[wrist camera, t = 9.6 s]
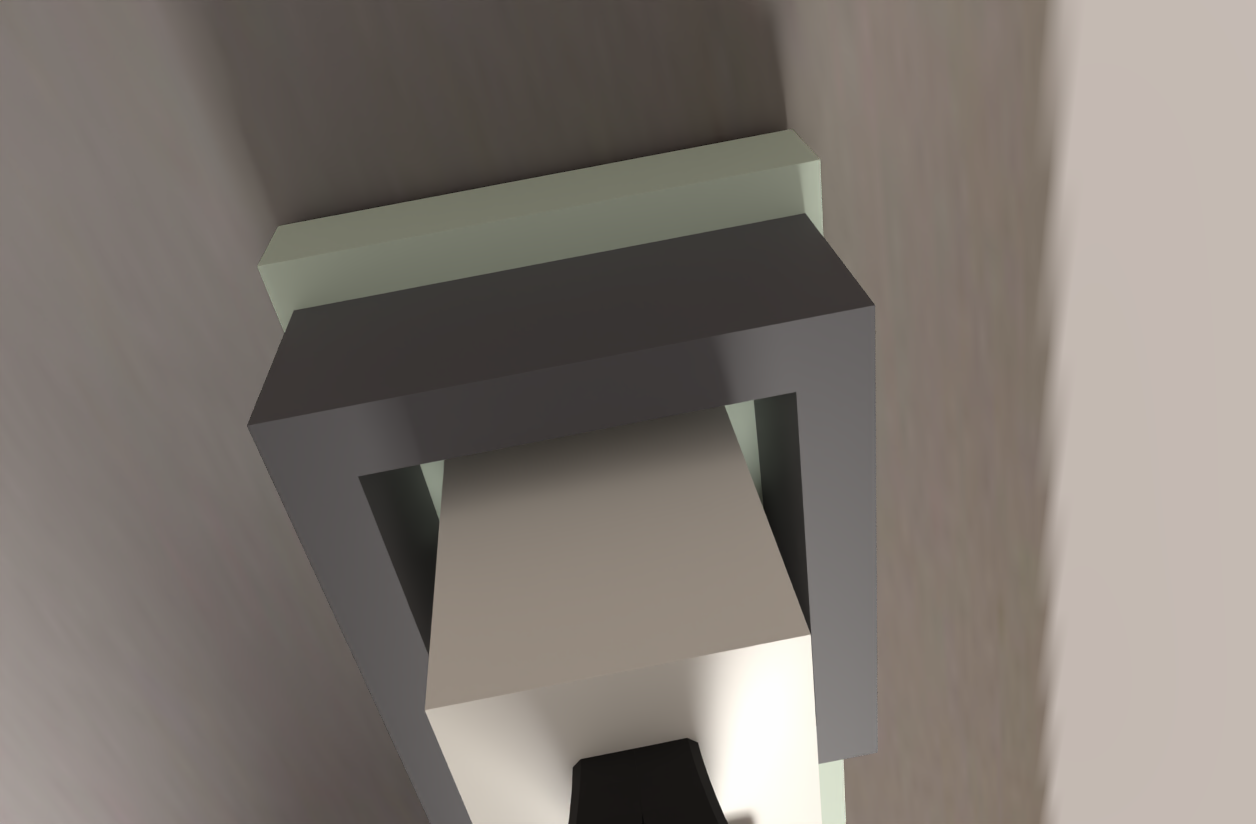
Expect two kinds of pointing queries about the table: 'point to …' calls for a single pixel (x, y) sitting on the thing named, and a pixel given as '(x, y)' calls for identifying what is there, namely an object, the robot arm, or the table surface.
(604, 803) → the robot arm
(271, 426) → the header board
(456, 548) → the plug
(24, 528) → the table surface
